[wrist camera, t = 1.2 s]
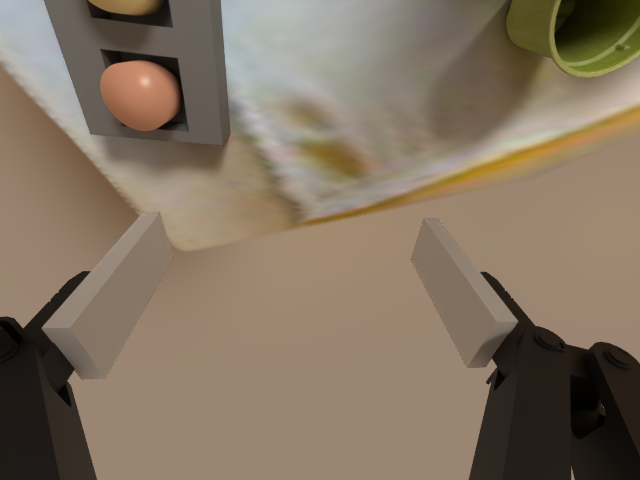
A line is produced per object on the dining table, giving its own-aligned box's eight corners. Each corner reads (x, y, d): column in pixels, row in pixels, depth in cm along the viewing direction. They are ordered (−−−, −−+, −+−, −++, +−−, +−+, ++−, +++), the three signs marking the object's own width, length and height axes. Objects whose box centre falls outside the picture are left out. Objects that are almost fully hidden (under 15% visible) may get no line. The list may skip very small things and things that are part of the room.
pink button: (117, 55, 24) (90, 58, 21) (178, 62, 25) (161, 66, 22) (133, 117, 27) (111, 128, 24) (187, 122, 28) (173, 133, 25)
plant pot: (512, 88, 30) (577, 104, 23) (467, 13, 26) (529, 4, 19) (606, 5, 27) (716, -6, 20) (570, -98, 23) (693, -158, 16)
